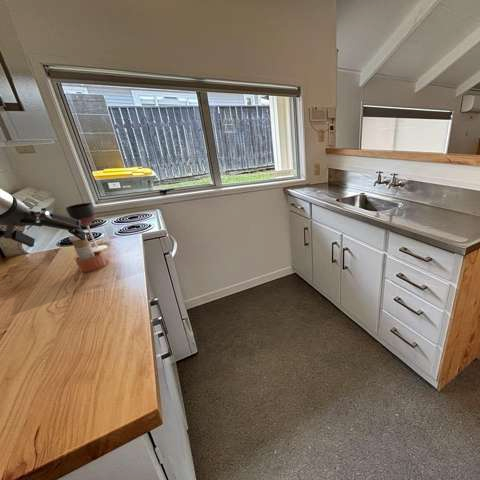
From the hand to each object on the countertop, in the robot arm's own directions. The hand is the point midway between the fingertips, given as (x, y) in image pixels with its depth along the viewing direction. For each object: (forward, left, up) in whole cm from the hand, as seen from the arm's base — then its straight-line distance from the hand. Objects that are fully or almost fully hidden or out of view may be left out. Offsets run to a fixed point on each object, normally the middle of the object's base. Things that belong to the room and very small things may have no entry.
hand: (58, 239), depth 83 cm
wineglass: (-32, +8, -16) cm, 37 cm away
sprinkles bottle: (-10, +4, -15) cm, 19 cm away
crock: (-9, +5, -16) cm, 19 cm away
